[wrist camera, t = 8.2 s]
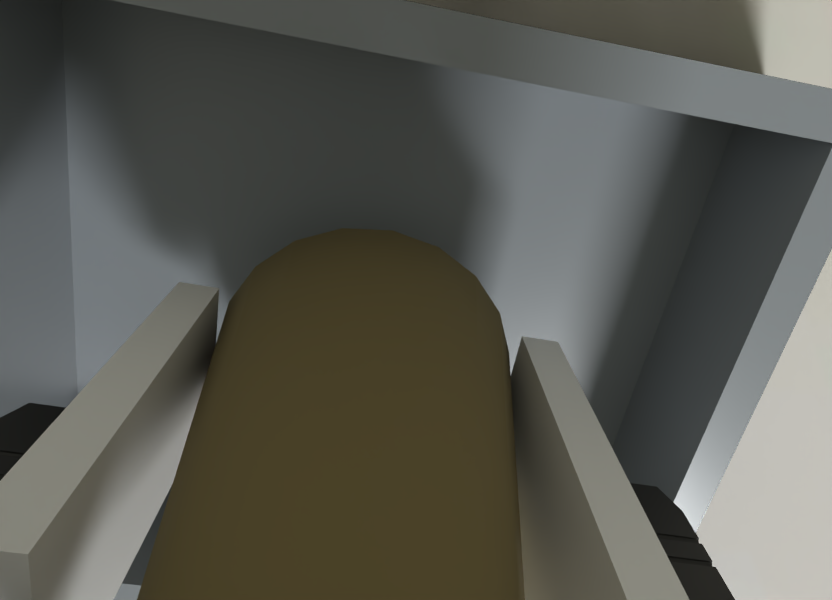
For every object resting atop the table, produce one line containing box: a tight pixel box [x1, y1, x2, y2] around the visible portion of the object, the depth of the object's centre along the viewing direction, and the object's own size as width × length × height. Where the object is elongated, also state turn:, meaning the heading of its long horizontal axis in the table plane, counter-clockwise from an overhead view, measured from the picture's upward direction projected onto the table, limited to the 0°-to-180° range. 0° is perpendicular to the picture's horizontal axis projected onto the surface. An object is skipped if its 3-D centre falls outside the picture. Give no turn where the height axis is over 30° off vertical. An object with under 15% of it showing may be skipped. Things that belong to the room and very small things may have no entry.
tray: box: [0, 0, 832, 600], centre depth 14 cm, size 16×14×4 cm
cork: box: [137, 228, 525, 600], centre depth 8 cm, size 6×6×11 cm
